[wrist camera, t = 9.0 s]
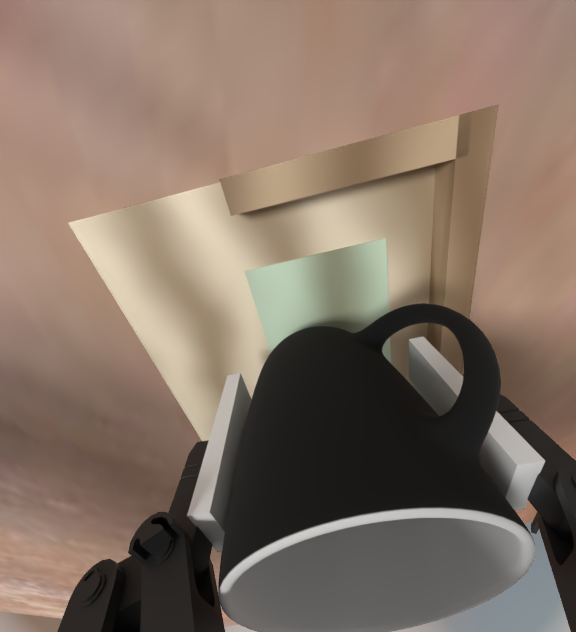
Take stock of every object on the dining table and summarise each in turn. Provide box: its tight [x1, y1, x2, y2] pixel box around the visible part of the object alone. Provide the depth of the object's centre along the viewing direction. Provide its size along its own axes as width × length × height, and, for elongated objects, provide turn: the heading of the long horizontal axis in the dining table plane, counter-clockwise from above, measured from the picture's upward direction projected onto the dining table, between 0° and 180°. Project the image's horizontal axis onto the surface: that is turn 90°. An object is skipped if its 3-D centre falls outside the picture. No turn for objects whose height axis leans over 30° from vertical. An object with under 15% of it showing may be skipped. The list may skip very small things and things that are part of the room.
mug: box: [219, 303, 535, 632], centre depth 11 cm, size 12×9×10 cm
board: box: [69, 104, 499, 441], centre depth 17 cm, size 20×21×4 cm
